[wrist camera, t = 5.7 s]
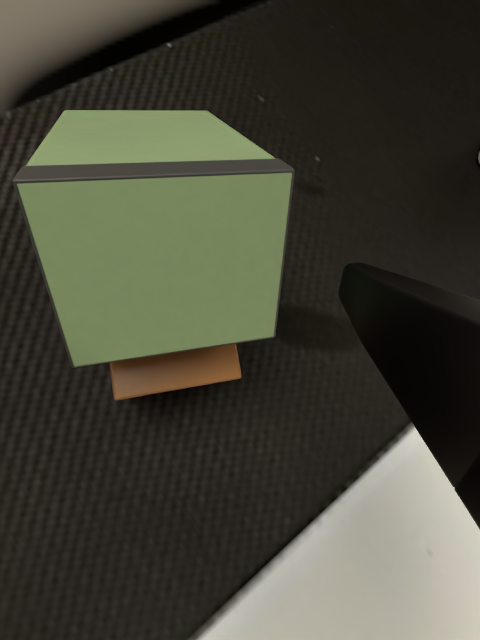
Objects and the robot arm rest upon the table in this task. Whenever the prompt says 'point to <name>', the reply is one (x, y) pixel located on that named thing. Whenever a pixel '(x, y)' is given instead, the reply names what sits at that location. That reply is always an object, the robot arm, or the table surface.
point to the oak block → (174, 371)
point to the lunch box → (155, 232)
